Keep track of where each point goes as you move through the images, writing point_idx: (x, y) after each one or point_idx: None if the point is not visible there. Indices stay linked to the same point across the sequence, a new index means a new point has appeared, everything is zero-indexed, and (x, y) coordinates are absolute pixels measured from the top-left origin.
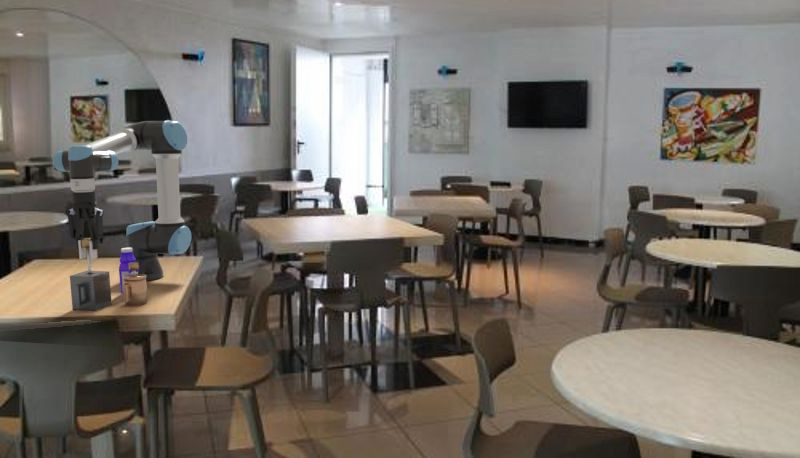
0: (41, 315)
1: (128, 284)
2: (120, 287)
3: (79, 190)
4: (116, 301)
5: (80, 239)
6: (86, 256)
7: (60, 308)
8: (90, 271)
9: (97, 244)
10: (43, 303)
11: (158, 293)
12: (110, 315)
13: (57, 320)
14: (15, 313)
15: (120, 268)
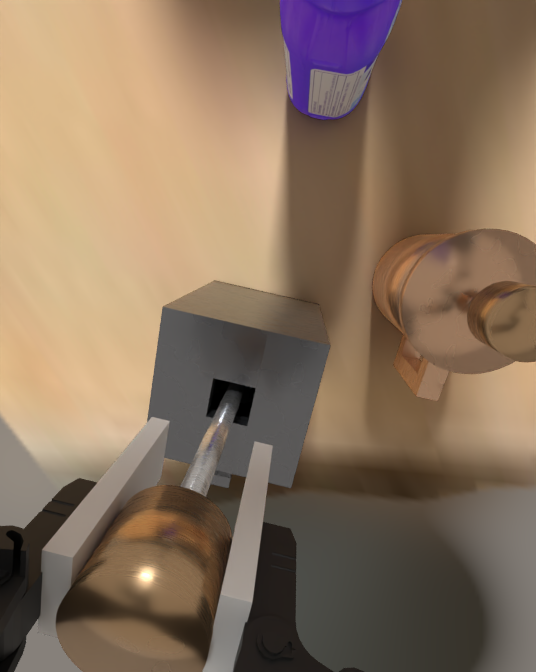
0: (127, 438)
1: (446, 376)
2: (292, 95)
3: None
4: (318, 246)
5: (36, 604)
6: (165, 425)
7: (138, 349)
8: (235, 412)
9: (292, 585)
10: (22, 265)
11: (486, 72)
12: (373, 460)
13: (216, 499)
14: (21, 405)
15: (304, 49)
